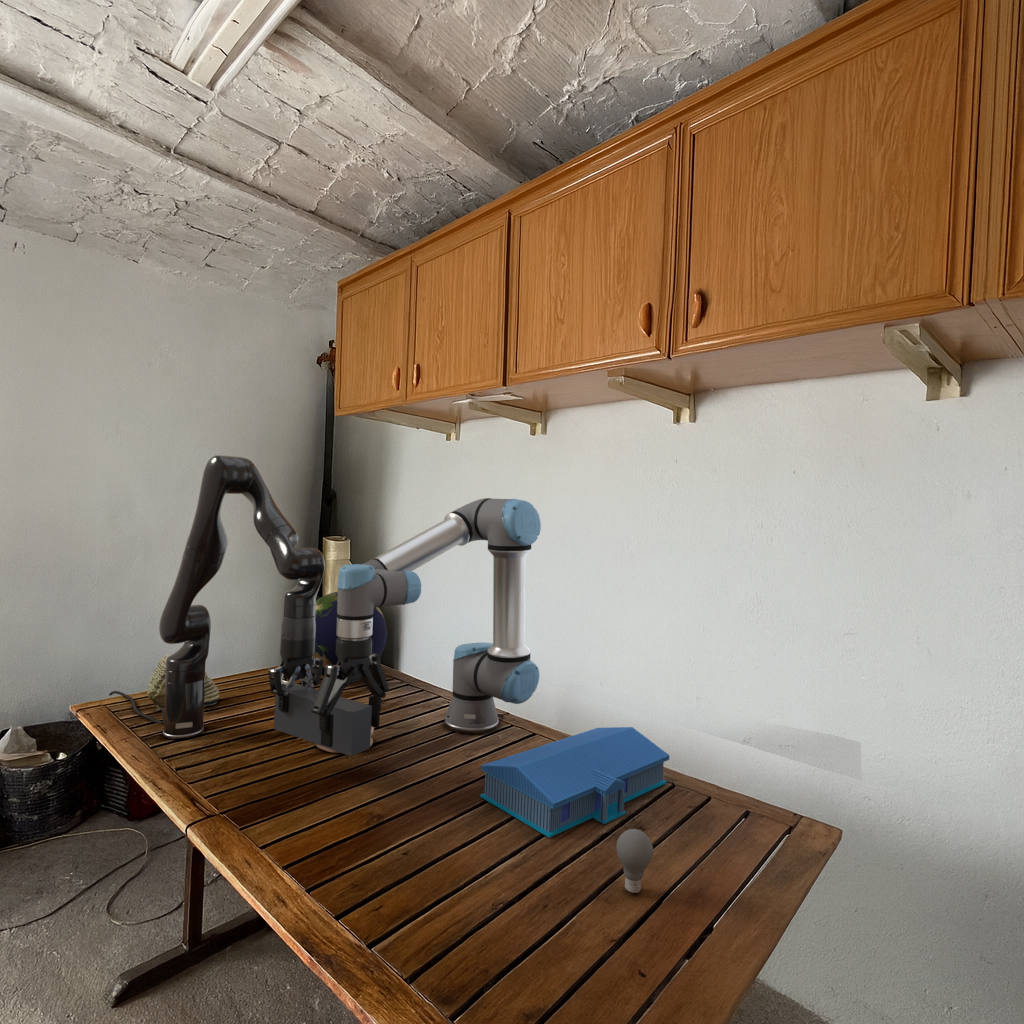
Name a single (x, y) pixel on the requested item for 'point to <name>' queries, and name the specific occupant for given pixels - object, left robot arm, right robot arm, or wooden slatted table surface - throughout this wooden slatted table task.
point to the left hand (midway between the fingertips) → (295, 708)
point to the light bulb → (634, 857)
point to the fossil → (158, 687)
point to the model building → (575, 778)
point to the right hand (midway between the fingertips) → (351, 735)
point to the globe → (328, 628)
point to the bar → (347, 722)
